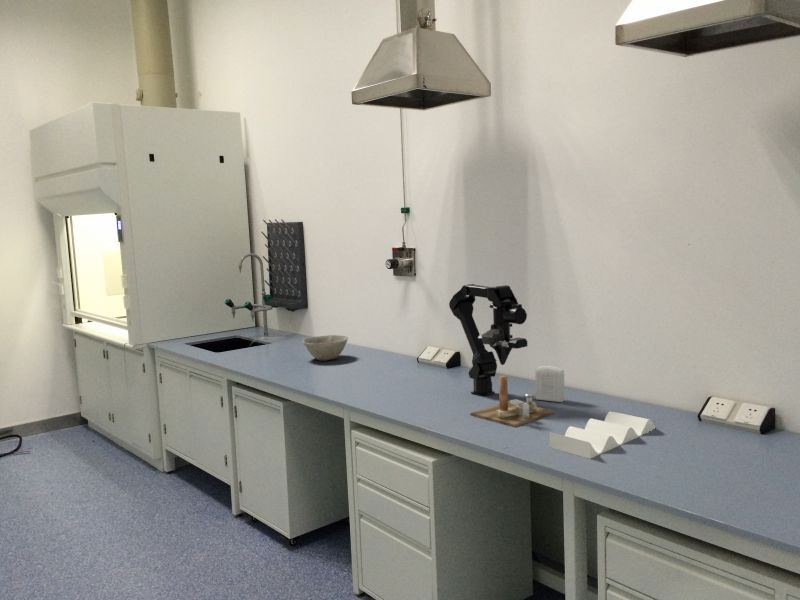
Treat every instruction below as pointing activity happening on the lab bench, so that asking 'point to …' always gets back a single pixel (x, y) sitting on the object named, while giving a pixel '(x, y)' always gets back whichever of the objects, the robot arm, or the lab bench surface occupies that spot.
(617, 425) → the white wavy rack
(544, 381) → the white arched upright block
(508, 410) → the ash crank
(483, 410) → the walnut board
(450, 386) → the lab bench surface
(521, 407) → the pintle and keeper
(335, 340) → the ceramic bowl
